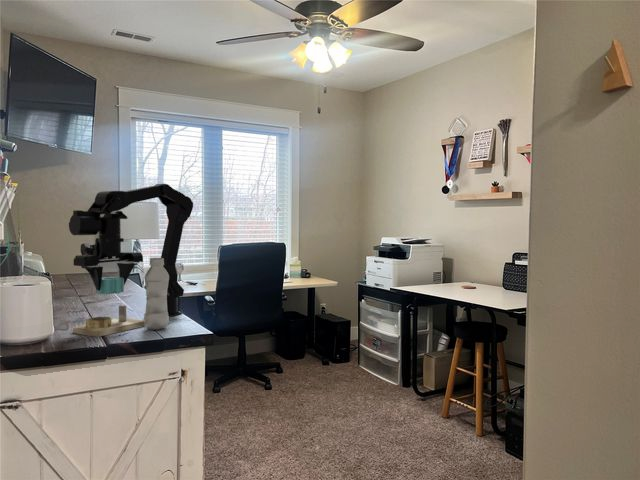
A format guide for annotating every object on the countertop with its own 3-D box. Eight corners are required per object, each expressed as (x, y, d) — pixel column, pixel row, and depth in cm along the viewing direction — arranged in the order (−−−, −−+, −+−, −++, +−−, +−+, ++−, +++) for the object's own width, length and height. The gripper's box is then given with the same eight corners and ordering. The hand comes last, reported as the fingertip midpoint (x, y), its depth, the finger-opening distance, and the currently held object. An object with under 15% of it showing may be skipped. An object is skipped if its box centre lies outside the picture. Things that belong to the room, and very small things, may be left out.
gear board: (123, 321, 137) (123, 302, 137) (146, 325, 132) (146, 305, 132) (72, 332, 123) (72, 310, 123) (96, 337, 118) (96, 314, 118)
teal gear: (113, 289, 136) (113, 276, 136) (129, 291, 133) (129, 277, 133) (91, 292, 130) (90, 278, 130) (106, 294, 127) (106, 280, 126)
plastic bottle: (143, 327, 130) (143, 257, 129) (168, 325, 132) (168, 257, 132) (144, 332, 124) (144, 259, 123) (170, 330, 126) (170, 259, 126)
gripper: (120, 233, 143) (120, 283, 143) (61, 234, 127) (62, 290, 127) (143, 234, 137) (144, 285, 138) (85, 235, 121) (86, 293, 122)
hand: (110, 288), depth 131 cm, fingers closed on teal gear, 7 cm apart
